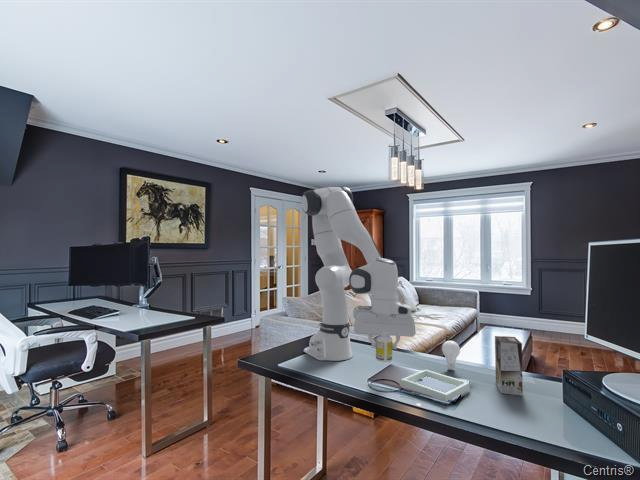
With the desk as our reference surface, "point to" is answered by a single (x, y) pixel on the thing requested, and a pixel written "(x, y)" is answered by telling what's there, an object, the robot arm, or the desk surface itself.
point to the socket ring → (380, 389)
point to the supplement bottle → (384, 347)
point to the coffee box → (508, 365)
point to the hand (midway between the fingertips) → (384, 348)
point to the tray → (409, 382)
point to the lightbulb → (450, 353)
